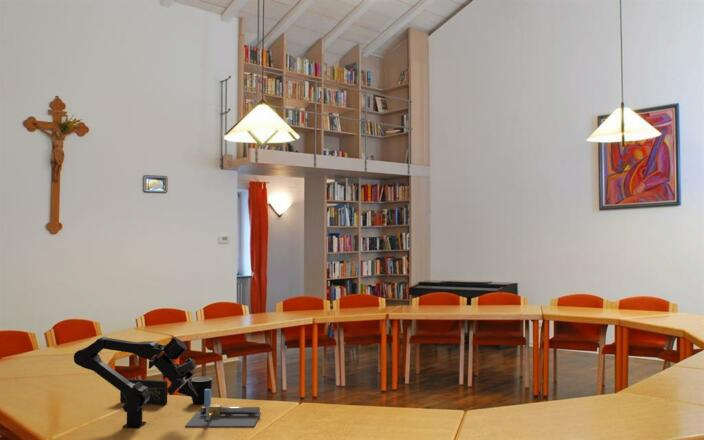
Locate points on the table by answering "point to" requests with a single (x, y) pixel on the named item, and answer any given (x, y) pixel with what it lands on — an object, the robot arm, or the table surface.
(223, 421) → the gray mounting plate
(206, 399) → the valve lever
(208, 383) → the mug
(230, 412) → the valve pipe
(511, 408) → the table surface
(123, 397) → the nameplate
